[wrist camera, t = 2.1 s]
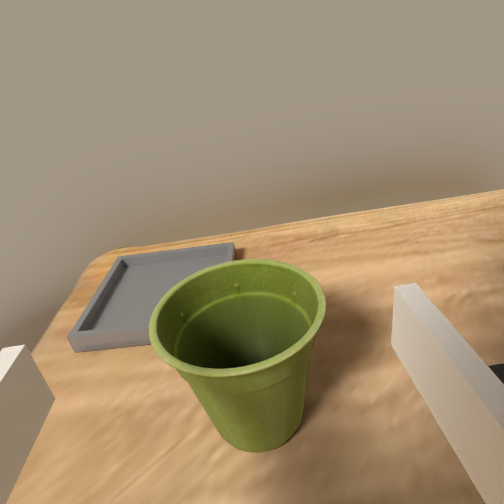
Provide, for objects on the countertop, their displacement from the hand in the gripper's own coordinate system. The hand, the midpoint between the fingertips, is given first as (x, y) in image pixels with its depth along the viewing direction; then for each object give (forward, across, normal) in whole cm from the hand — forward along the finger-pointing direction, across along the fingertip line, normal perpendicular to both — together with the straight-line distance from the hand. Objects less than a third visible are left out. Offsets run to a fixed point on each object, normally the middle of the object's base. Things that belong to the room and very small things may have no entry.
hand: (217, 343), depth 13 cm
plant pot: (+10, 0, -17) cm, 20 cm away
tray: (+29, -10, -17) cm, 35 cm away
